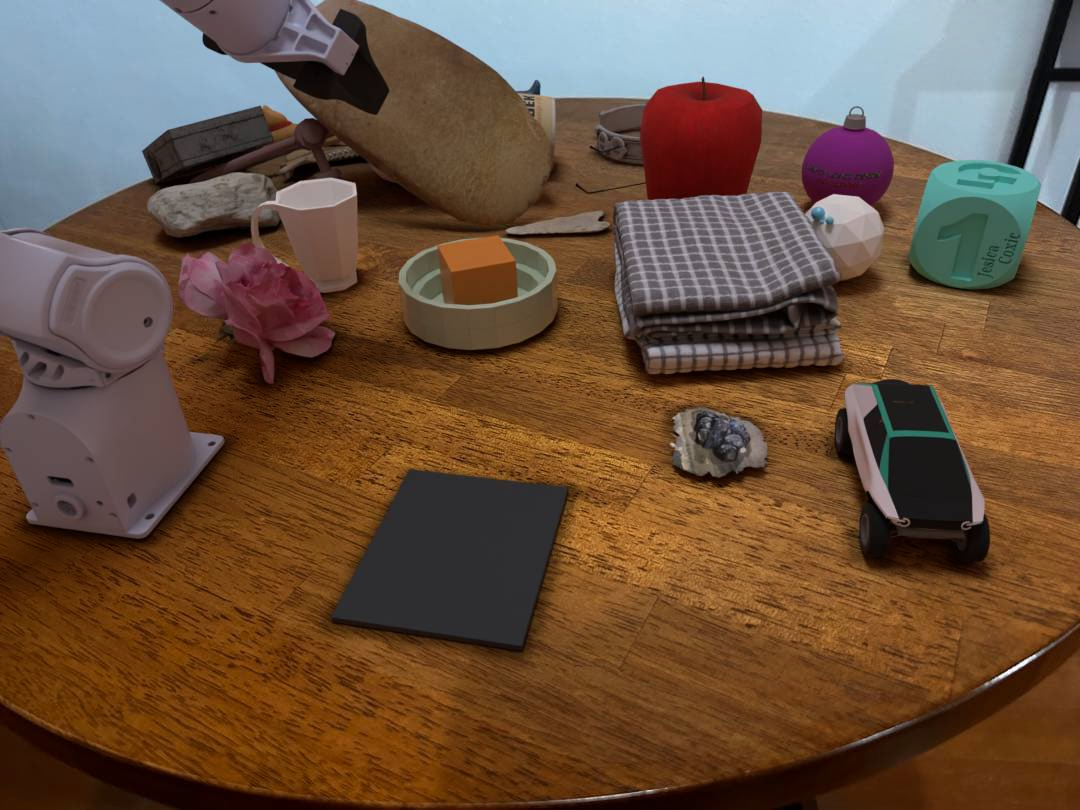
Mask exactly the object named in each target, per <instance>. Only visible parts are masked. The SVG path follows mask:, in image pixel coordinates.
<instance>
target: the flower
mask: <svg viewBox="0 0 1080 810" xmlns="http://www.w3.org/2000/svg"><path fill="white" fill-rule="evenodd" d="M265 248H266V247H265ZM265 248H256V247H255V245H254V244H253V243H252V242H251V241H244V242H243V243H242V244H240V245H238V246H236V247H235V248H233V250H232V251H231V252H230V255H229V257H228V258H227V262H225V261H224V260H222V259H221V258H219V257H218V256H217V255H215V254H214V253H212V252H210V251H204V252H203V253H201V254H200V255H198V256H197V257H193V256H191V255H190V253H188V252H187V253H186V254H185V255H184V256H183V257H182V258H181V267H180V273H179V279H178V297H179V301H180V302H182V303H184V304H185V305H186V306H187V308H189V309H190V310H192V311H194V312H195V313H196V314H198V315H199V316H200V317H202V318H211V319H220V320H222V322H221V325H220V326H219V329H218V333H217V338H216V342H214V343H213V345H212V346H211V347H210V349H208V350H206V351H205V352H203V353H202V354H201V355H199V356H198V357H196V358H195V360H196V361H198V360H199V359H201V357H203V356H204V355H206V354H207V352H208V351H210V350H211V349H212V348H213V347H215V345H216V344H218V343H219V342H221V341H222V340H224V339H226V338H228V337H229V338H230V340H231V341H230V343H229V345H228V346H230V345H232V344H234V343H236V342H237V344H241V345H245V346H247V347H250V348H254V349H257V350H259V358H260V362H261V371H262V376H263V379H264V381H265V382H266V383H267V384H269V385H271V384H272V385H273V384H274V379H275V370H276V369H275V358H274V353H273V351H274V350H275V349H279V350H281V351H282V352H284V353H286V354H287V353H288V354H292V355H295V356H299V357H305V358H314V357H317V356H319V355H321V354H323V353H325V352H327V351H328V350H329V349H330V348H332V344H333V343H332V340H334V337H335V335H336V332H335V331H333V330H332V329H330V328H328V327H325V326H321V325H320V324H324V323H327V320H328V319H329V318H330V313H329V312H328V311H327V306H326V301H325V300H323V296H322V295H321V294H322V292H319V289H318V288H317V287H316V286H315V284H314V282H312V281H311V280H310V279H309V278H308V277H307V276H306V275H305V273H304V272H303V271H300V270H299V269H296V268H294V267H292V266H290V265H288V266H286V265H285V264H286V263H285V264H283V263H282V262H283V261H282V262H281V263H279V264H278V263H277V261H276V259H275V258H274V256H275V255H274V254H272V252H271V251H269V249H267V248H266V249H265ZM273 255H274V256H273Z"/></svg>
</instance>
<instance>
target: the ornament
mask: <svg viewBox="0 0 1080 810" xmlns="http://www.w3.org/2000/svg"><path fill="white" fill-rule="evenodd" d="M804 214H805V215H806V216H807V217H808V218H809V220H810V221H811V224H812V226H813V228H814V230H815V232H816V234H817V236H818V238H819V239H820V241H821V242H822V243H823V245H824V246H825V247H826V249H827V251H828V252H829V253H830V256H832V257H833V258H834V259H835V260H834V261H835V268H836V269H838V270H839V271H840V272H841V275H842V279H841V280H840V281H839V282H841V281H847V280H850V279H853V278H856V277H859V276H862V275H863V274H864V273H865V272H866V271H867V270H868V269H869V268H871V266H872V265H873V264H874V263H875V262H876V261H877V260H878V259H879V258H880V257H881V256H882V252H883V251H882V250H883V242H884V234H885V227H884V224H883V221H882V218H881V216H880V215H881V214H880V212H879V211H878V210H876V209H875V208H874V207H873V206H870V205H869V204H867V203H866V202H865V201H863V200H862V199H861V198H860V197H856V196H846V195H836V194H833V195H831V196H828V197H826V198H824V199H822V200H820V201H818V202H816V203H813V205H812V206H811V207H810V208H808V210H807V211H806V212H804Z"/></svg>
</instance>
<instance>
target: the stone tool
mask: <svg viewBox="0 0 1080 810" xmlns="http://www.w3.org/2000/svg"><path fill="white" fill-rule="evenodd" d="M604 214H605V212H604V211H603V210H601V209H600V210H595V211H584V212H581V213H579V214H576V215H571V216H558V217H554V218H552V219H544V220H540V221H536V222H533V223H528V224H525V225H516V226H513V227H509V228H507V229H506V230H505V233H507V234H510V235H520V236H521V235H534V234H536V235H537V234H544V235H545V234H556V233H557V234H568V233H569V234H576V233H580V234H590V233H591V234H592V233H599V232H601V231H604V230H607V229H609V227H611V225H612V223H611V222H610V221H609V222H608V221H599V219H600V218H601V217H602V216H604Z"/></svg>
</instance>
